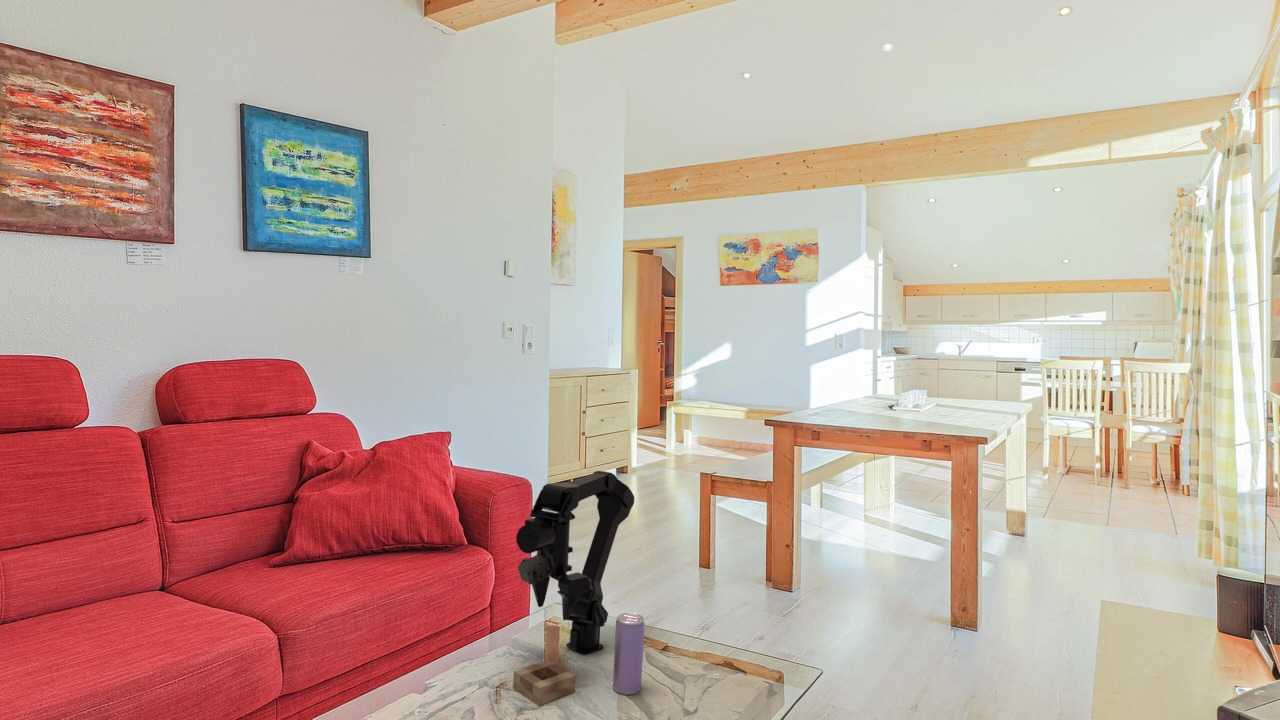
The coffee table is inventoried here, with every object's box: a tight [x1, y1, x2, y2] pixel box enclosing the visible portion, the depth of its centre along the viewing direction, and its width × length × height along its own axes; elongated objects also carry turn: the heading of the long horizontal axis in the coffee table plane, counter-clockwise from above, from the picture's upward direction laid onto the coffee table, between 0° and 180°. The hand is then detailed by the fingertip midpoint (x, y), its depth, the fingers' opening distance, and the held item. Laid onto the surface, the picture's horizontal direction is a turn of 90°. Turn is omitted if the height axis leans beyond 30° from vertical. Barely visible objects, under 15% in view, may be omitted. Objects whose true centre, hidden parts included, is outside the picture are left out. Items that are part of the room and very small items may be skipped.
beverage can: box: [612, 612, 645, 696], centre depth 151 cm, size 6×6×15 cm
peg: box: [543, 624, 561, 665], centre depth 159 cm, size 3×3×9 cm
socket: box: [512, 660, 576, 706], centre depth 149 cm, size 9×9×4 cm
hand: (552, 613), depth 158 cm, fingers open, 9 cm apart
